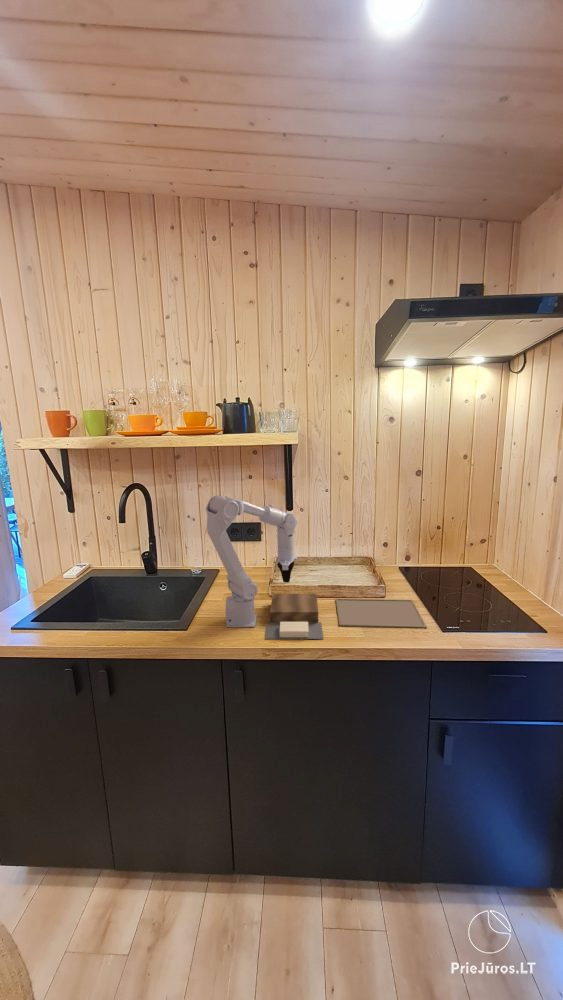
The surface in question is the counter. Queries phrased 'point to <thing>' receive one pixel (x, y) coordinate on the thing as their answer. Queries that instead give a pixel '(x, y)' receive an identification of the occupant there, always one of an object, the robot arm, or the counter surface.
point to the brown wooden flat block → (294, 608)
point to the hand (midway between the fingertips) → (286, 581)
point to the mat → (274, 633)
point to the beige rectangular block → (294, 629)
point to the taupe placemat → (378, 613)
